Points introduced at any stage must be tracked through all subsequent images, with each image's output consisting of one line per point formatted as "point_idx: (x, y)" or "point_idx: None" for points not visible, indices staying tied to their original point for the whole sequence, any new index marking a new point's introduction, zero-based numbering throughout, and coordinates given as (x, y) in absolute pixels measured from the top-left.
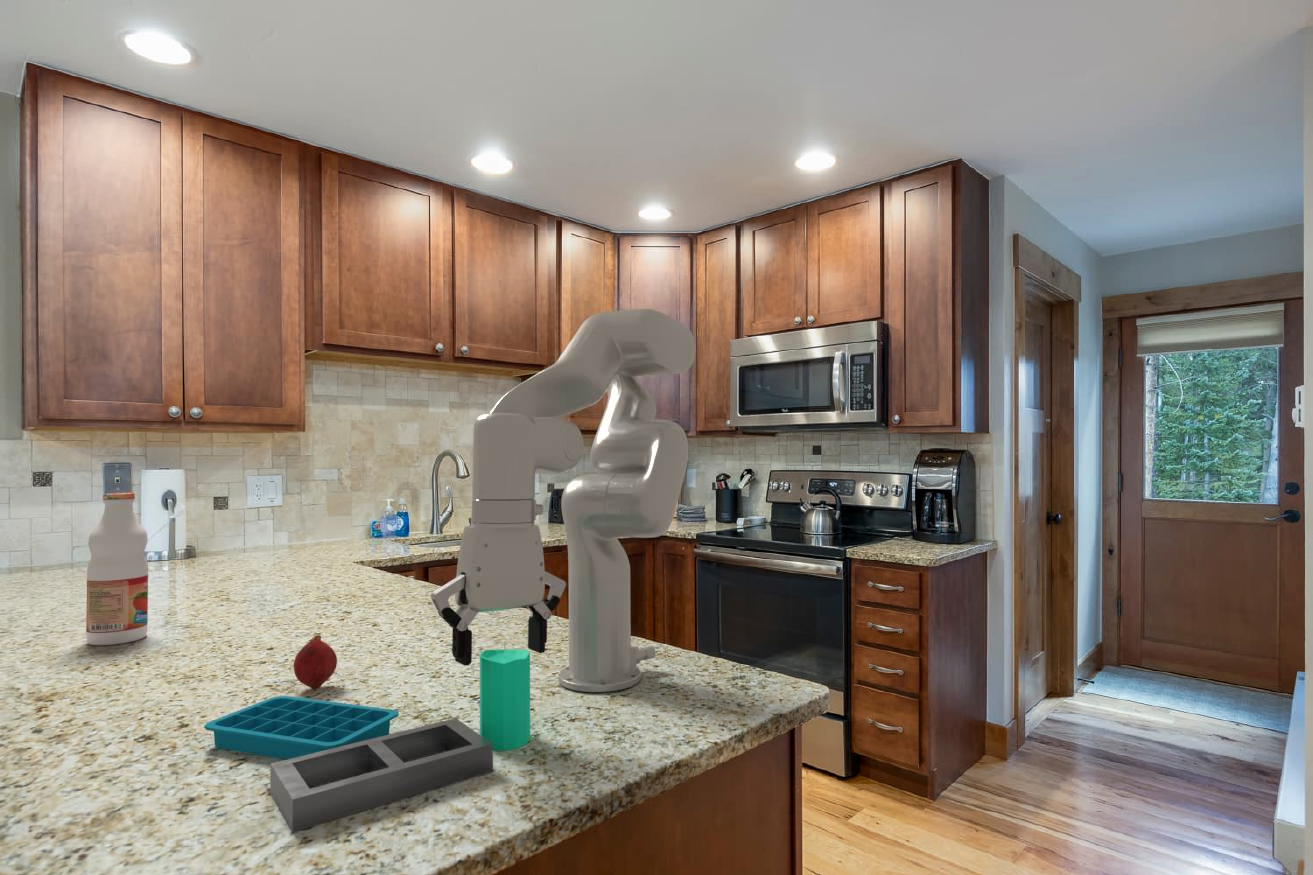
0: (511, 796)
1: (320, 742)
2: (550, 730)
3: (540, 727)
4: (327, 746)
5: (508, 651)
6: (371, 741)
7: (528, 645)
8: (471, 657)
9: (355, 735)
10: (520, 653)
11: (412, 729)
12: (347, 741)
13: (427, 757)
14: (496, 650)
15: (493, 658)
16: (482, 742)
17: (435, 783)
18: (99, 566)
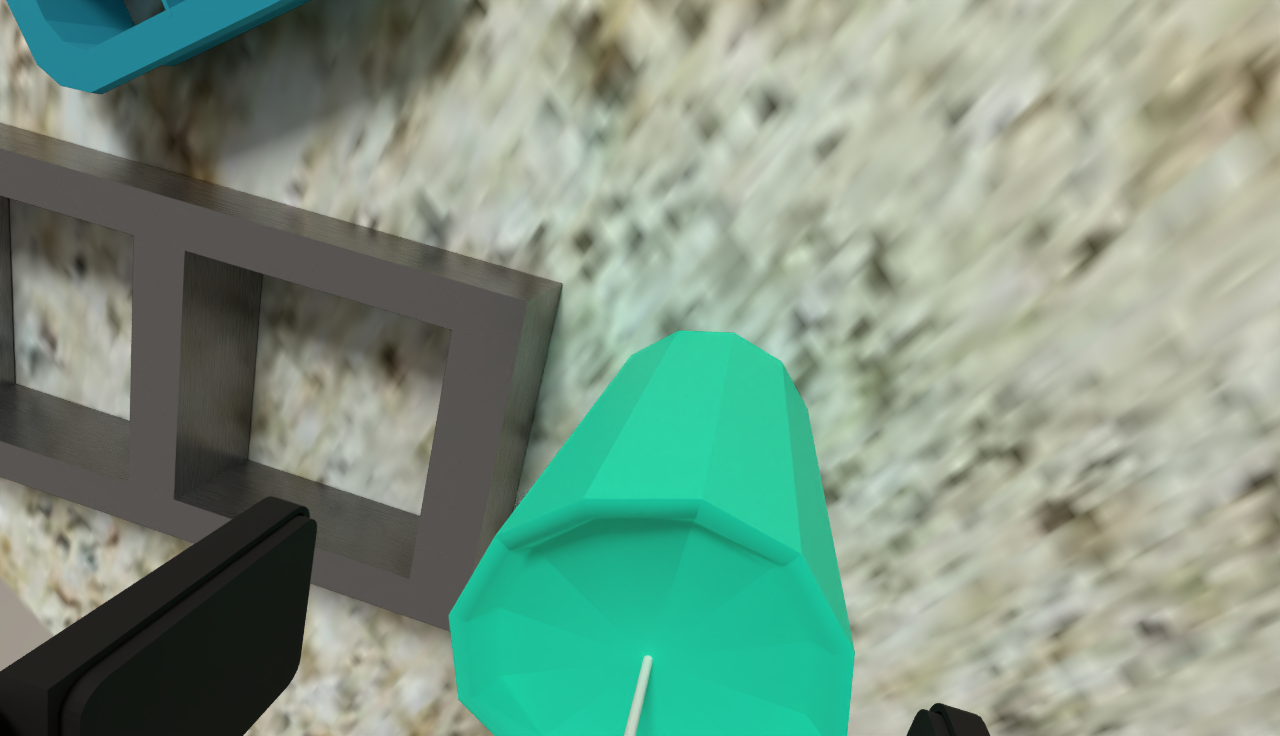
0: (438, 716)
1: (27, 3)
2: (895, 510)
3: (900, 453)
4: (45, 68)
5: (785, 582)
6: (157, 221)
7: (927, 725)
8: (268, 706)
9: (156, 53)
10: (808, 687)
11: (327, 249)
12: (120, 81)
13: None
14: (705, 521)
15: (579, 601)
16: (441, 596)
17: None
18: None
